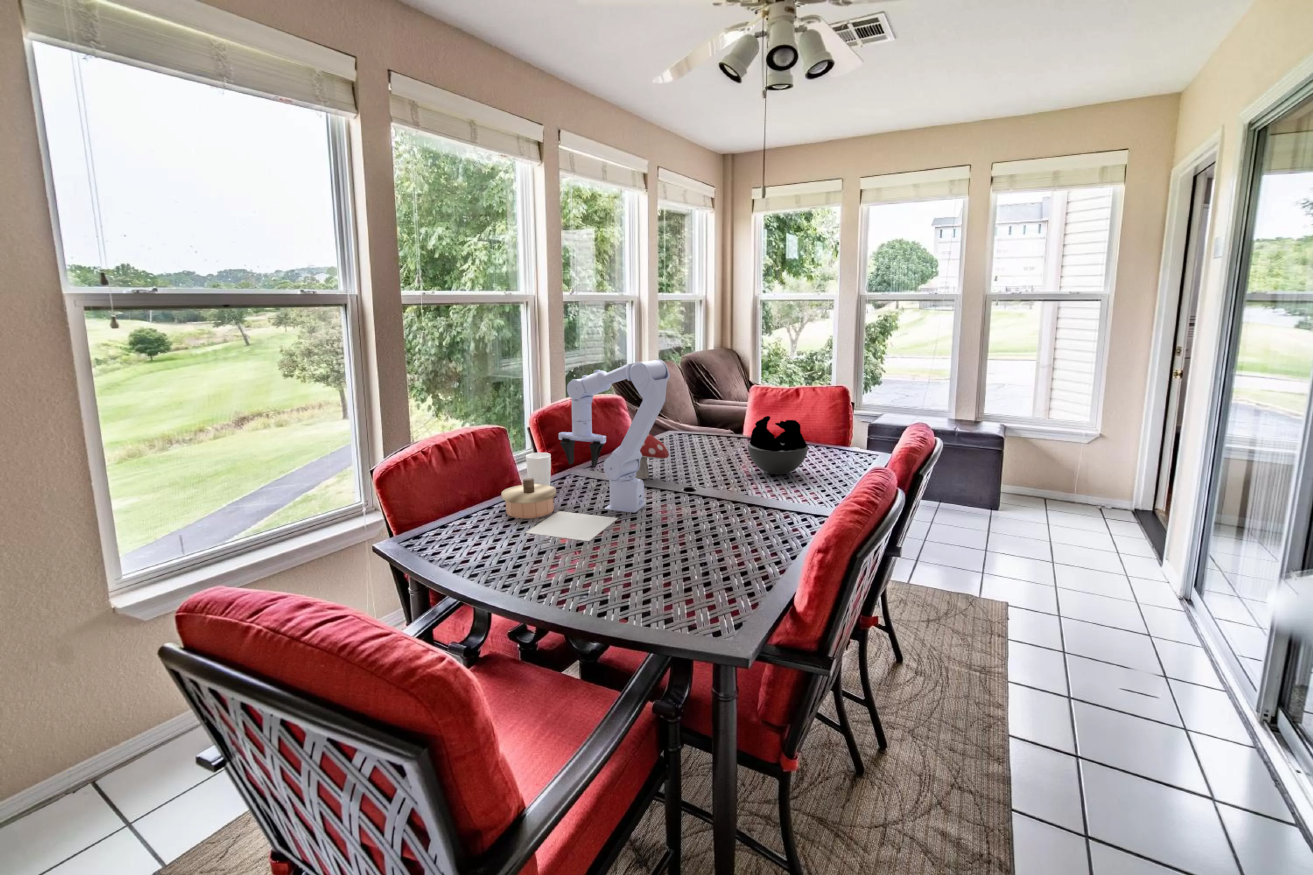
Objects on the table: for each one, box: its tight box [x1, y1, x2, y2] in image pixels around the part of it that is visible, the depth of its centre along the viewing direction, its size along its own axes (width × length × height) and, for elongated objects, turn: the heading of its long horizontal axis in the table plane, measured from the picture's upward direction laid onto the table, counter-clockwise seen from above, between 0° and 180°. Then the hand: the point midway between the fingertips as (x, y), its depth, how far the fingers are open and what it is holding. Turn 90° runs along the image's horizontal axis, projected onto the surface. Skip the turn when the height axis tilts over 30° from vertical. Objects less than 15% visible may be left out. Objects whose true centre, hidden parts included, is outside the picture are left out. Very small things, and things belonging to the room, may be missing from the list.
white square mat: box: [524, 510, 619, 542], centre depth 171 cm, size 18×18×1 cm
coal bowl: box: [747, 415, 809, 476], centre depth 219 cm, size 20×20×19 cm
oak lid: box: [500, 477, 557, 503], centre depth 181 cm, size 15×15×4 cm
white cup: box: [525, 452, 552, 486], centre depth 208 cm, size 8×8×10 cm
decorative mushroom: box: [635, 433, 670, 480], centre depth 215 cm, size 16×16×15 cm
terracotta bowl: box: [505, 497, 555, 519], centre depth 183 cm, size 13×13×5 cm
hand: (582, 464), depth 193 cm, fingers open, 7 cm apart
